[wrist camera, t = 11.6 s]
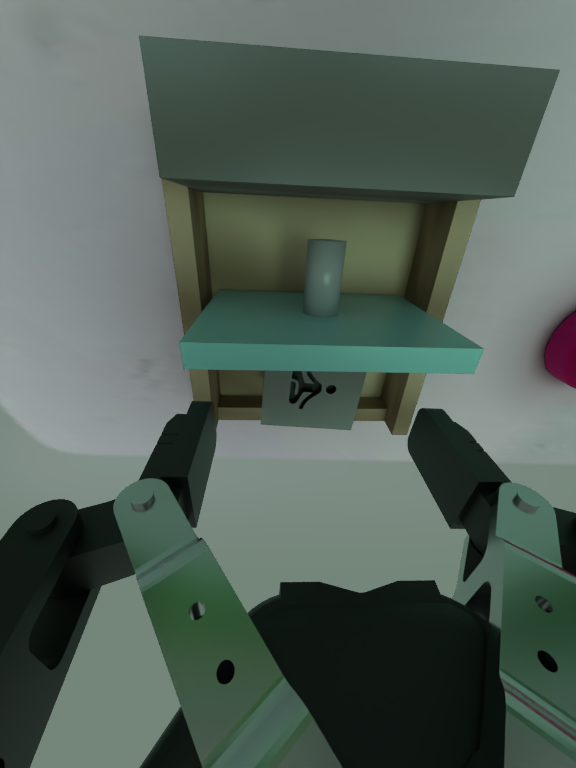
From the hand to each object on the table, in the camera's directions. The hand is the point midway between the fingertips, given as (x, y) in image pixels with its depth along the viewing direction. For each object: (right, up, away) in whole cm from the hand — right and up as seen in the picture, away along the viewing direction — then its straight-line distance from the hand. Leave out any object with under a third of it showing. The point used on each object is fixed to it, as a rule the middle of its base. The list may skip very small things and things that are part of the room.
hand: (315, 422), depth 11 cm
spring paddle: (0, +8, +5) cm, 9 cm away
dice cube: (0, +4, +8) cm, 9 cm away
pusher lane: (0, +7, +6) cm, 9 cm away
